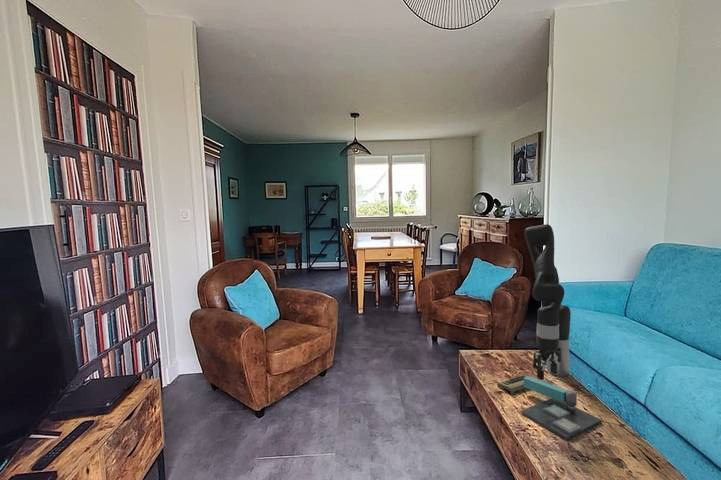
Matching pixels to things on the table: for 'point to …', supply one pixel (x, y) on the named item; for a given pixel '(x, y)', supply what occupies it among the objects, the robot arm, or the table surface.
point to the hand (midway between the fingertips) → (547, 376)
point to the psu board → (561, 418)
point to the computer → (513, 384)
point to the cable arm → (551, 391)
